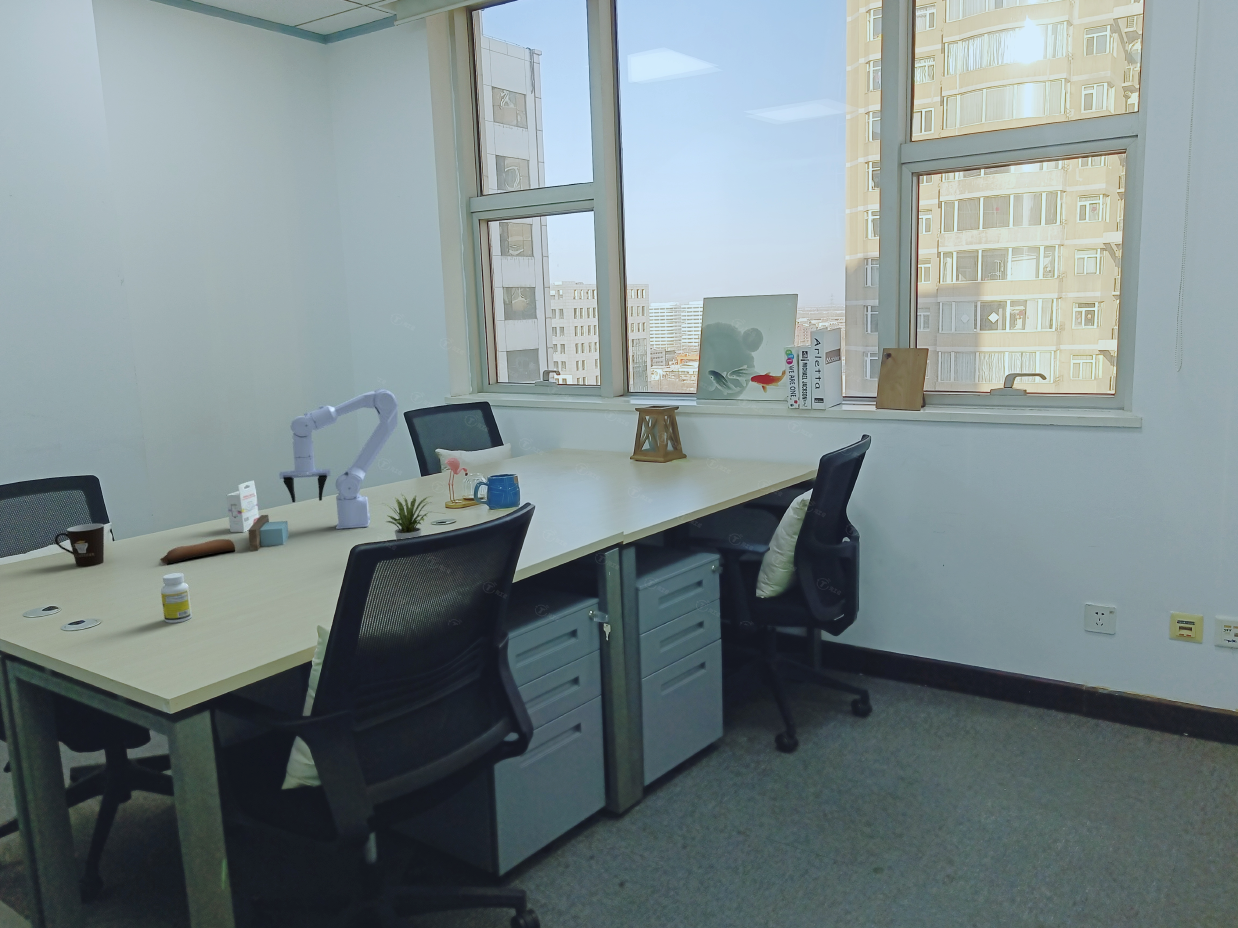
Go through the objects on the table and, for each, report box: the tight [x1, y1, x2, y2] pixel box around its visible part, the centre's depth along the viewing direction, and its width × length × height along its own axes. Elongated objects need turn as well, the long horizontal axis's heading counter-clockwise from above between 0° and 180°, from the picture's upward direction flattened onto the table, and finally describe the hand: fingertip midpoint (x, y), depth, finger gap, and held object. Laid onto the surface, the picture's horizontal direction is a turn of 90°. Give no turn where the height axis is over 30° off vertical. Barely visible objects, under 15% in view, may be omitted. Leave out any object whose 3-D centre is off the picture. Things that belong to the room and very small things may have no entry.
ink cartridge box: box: [225, 480, 260, 533], centre depth 283 cm, size 9×5×15 cm, turn 168°
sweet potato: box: [159, 538, 236, 566], centre depth 252 cm, size 18×7×7 cm
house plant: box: [382, 493, 433, 540], centre depth 248 cm, size 14×14×16 cm
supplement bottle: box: [160, 572, 193, 624], centre depth 198 cm, size 5×5×10 cm
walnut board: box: [247, 514, 270, 552], centre depth 266 cm, size 2×20×6 cm, turn 11°
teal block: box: [260, 520, 290, 547], centre depth 266 cm, size 6×10×5 cm, turn 11°
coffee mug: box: [54, 523, 105, 568], centre depth 247 cm, size 12×9×10 cm
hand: (307, 500), depth 278 cm, fingers open, 7 cm apart
